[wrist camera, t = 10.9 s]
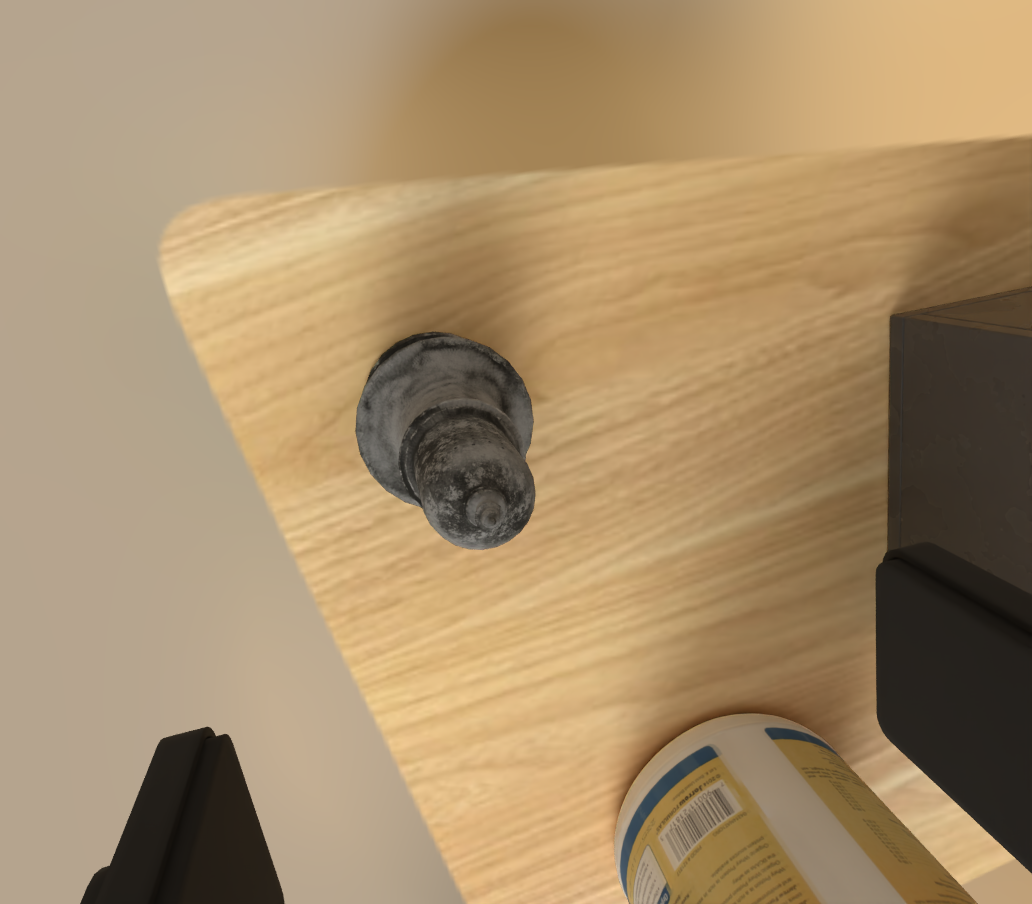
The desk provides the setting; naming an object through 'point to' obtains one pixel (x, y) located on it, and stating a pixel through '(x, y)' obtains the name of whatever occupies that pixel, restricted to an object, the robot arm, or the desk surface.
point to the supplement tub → (766, 825)
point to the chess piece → (451, 436)
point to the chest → (964, 432)
